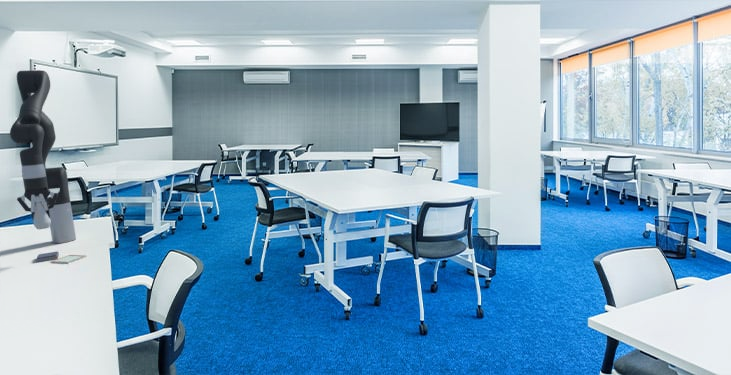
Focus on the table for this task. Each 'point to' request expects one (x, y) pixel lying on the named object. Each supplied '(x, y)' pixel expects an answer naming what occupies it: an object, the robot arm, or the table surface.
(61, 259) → the marked square
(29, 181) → the robot arm
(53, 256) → the ink pad
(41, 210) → the salt shaker
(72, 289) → the table surface
